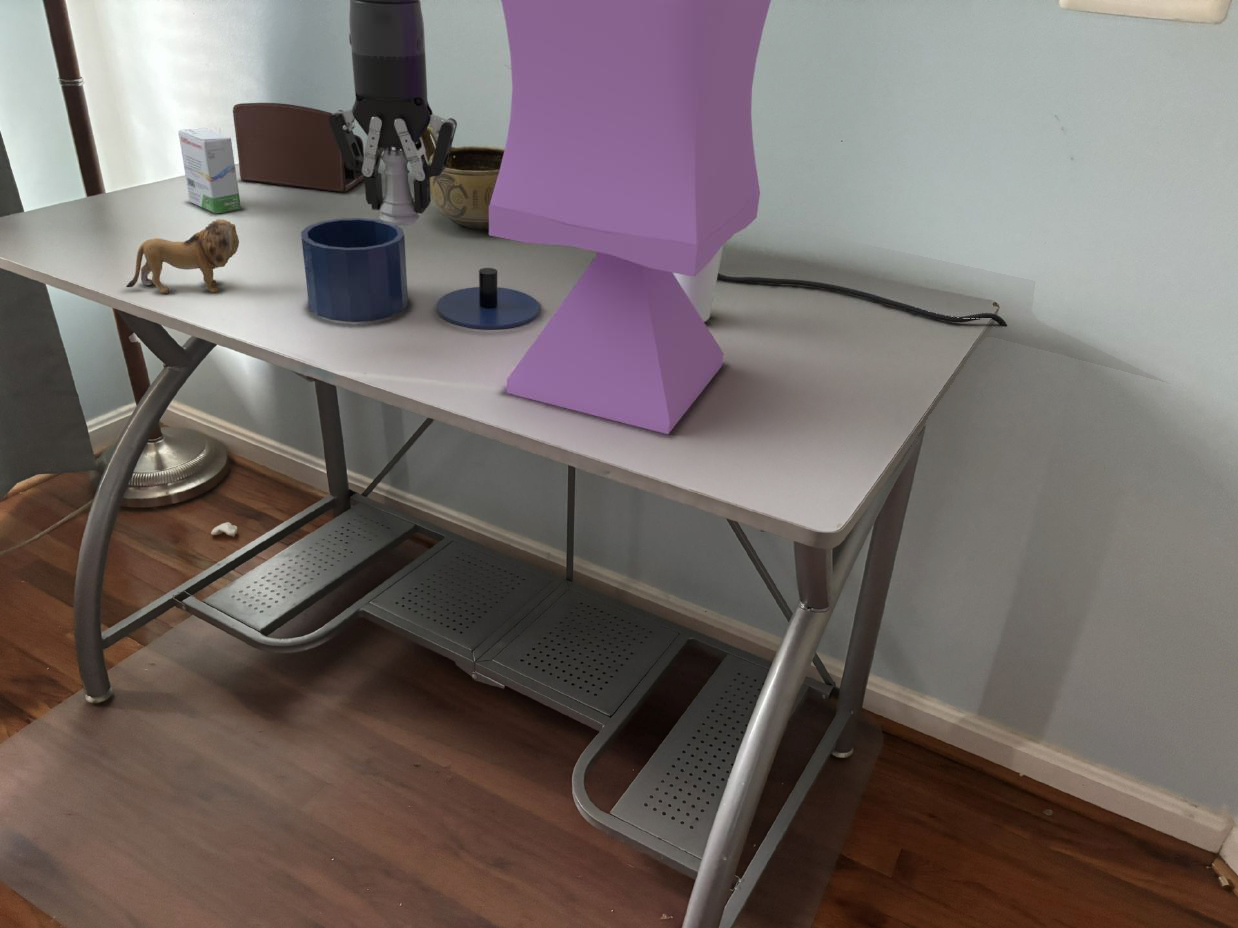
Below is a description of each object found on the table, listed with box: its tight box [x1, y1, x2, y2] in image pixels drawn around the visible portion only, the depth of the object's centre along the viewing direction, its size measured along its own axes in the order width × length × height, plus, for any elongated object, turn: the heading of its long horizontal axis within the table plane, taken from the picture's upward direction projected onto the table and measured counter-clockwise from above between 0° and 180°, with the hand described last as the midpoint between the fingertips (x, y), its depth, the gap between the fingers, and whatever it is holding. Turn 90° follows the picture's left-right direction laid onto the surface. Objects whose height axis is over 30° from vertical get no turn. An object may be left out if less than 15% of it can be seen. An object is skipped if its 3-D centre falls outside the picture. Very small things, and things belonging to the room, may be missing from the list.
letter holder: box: [232, 102, 365, 194], centre depth 172 cm, size 10×20×14 cm, turn 81°
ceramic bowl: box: [421, 125, 505, 230], centre depth 157 cm, size 22×17×15 cm
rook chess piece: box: [378, 147, 420, 227], centre depth 107 cm, size 4×4×8 cm
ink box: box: [177, 127, 242, 215], centre depth 157 cm, size 8×5×12 cm, turn 48°
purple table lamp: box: [488, 0, 772, 435], centre depth 102 cm, size 22×22×45 cm
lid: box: [436, 267, 540, 330], centre depth 127 cm, size 14×14×6 cm
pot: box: [300, 217, 409, 323], centre depth 125 cm, size 13×13×10 cm
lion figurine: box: [125, 218, 240, 294], centre depth 127 cm, size 15×5×9 cm, turn 110°
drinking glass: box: [672, 244, 725, 323], centre depth 128 cm, size 7×7×15 cm
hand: (398, 209), depth 109 cm, fingers closed on rook chess piece, 4 cm apart
